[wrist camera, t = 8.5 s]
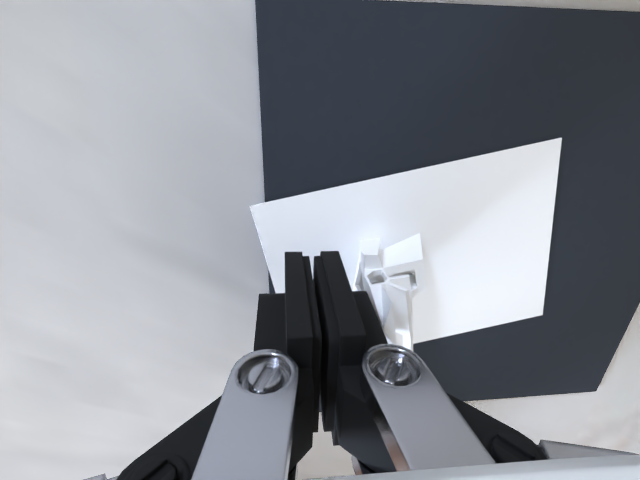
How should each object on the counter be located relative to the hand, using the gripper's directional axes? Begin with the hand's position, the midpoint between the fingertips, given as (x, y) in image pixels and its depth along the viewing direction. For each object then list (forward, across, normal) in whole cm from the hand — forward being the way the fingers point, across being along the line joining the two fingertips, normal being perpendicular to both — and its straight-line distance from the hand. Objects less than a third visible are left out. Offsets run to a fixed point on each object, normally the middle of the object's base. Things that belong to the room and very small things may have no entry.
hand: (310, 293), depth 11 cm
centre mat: (+1, -6, -1) cm, 6 cm away
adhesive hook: (+2, -4, 0) cm, 4 cm away
